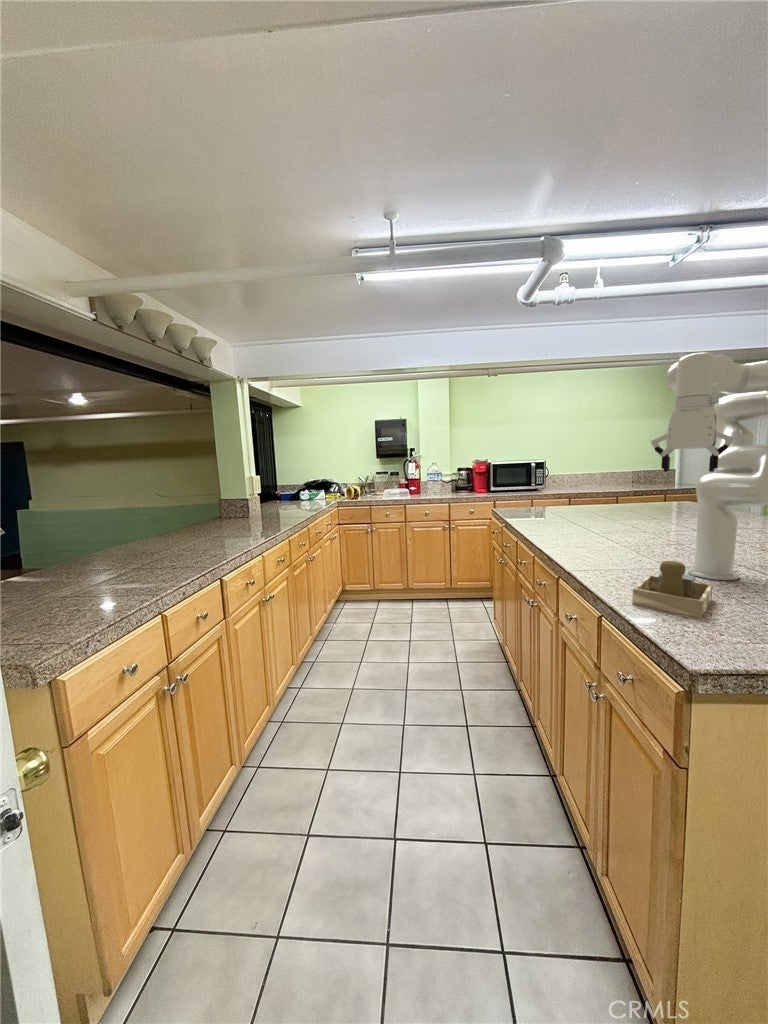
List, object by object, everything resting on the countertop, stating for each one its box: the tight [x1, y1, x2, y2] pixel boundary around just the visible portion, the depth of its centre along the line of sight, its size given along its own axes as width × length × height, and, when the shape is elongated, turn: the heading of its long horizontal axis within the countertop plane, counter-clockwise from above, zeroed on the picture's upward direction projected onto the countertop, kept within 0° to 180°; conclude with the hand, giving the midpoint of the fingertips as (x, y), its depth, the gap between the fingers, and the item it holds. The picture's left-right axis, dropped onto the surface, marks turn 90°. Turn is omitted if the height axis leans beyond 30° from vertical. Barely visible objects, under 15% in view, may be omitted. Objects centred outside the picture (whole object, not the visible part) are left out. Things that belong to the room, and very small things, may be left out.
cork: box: [658, 560, 686, 597], centre depth 102 cm, size 6×6×11 cm
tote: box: [632, 574, 714, 619], centre depth 104 cm, size 16×14×4 cm
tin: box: [658, 572, 696, 599], centre depth 107 cm, size 5×7×6 cm
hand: (688, 471), depth 107 cm, fingers open, 9 cm apart
